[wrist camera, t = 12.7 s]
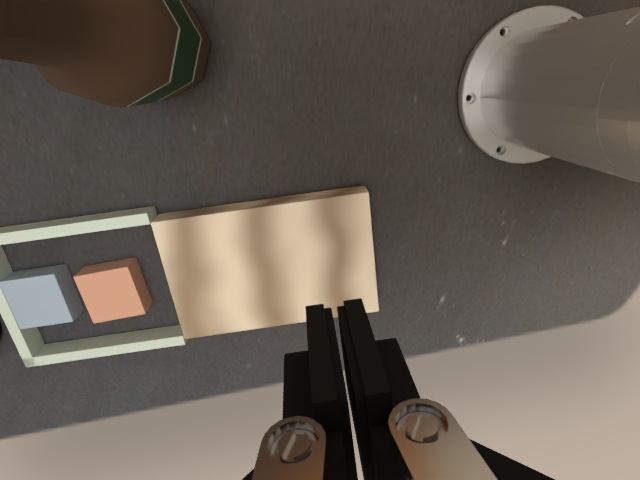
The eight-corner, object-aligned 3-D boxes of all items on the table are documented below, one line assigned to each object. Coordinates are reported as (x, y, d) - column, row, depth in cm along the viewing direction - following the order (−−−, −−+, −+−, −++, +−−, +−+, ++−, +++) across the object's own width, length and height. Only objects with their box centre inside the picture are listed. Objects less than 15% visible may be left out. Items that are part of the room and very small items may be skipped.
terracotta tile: (137, 255, 40) (127, 266, 38) (153, 300, 42) (145, 313, 39) (85, 265, 40) (73, 276, 38) (104, 309, 42) (93, 323, 39)
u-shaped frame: (154, 205, 38) (146, 213, 36) (190, 331, 43) (185, 344, 41) (-18, 229, 38) (-35, 238, 36) (38, 353, 43) (26, 367, 41)
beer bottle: (203, -13, 32) (6, -219, 10) (221, 94, 35) (98, 122, 13) (101, -4, 32) (-341, -196, 10) (127, 102, 35) (-167, 147, 12)
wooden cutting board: (364, 185, 39) (368, 192, 36) (374, 298, 43) (378, 311, 41) (159, 213, 38) (150, 222, 36) (190, 324, 43) (184, 339, 40)
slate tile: (-2, 282, 37) (15, 270, 40) (20, 329, 39) (35, 315, 42) (53, 274, 37) (67, 262, 40) (73, 321, 39) (85, 307, 42)
